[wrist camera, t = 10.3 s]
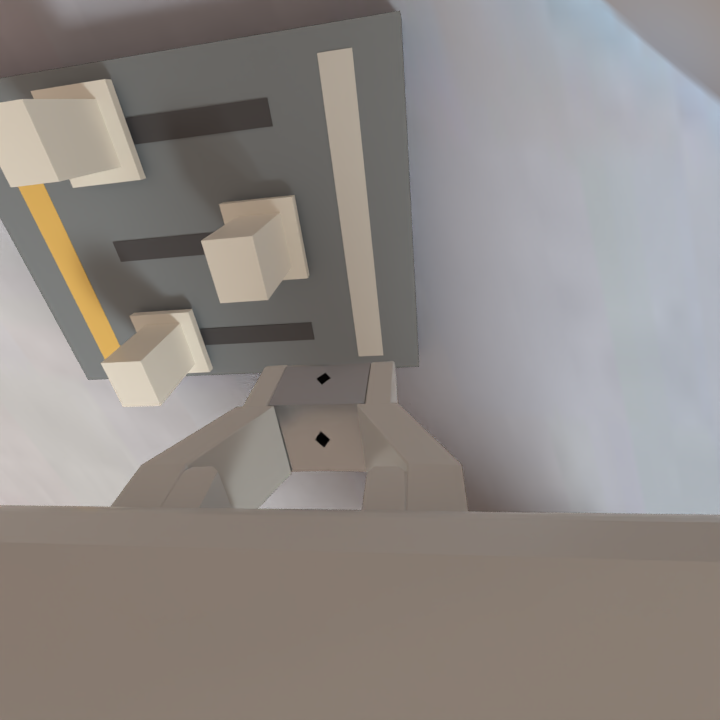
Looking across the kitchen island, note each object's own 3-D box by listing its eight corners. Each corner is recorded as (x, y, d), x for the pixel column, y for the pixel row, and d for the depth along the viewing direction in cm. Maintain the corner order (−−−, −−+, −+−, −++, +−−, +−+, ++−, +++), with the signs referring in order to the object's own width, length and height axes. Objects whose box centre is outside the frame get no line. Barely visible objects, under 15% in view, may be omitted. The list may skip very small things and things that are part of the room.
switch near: (111, 79, 20) (30, 74, 16) (145, 178, 22) (83, 196, 18) (38, 91, 21) (-59, 89, 16) (79, 186, 23) (3, 205, 19)
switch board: (401, 18, 20) (400, 10, 18) (418, 350, 29) (418, 367, 27) (-35, 90, 23) (-71, 89, 22) (105, 365, 32) (87, 380, 31)
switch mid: (294, 194, 22) (266, 217, 18) (309, 275, 24) (287, 312, 20) (222, 202, 23) (178, 226, 18) (243, 280, 25) (209, 317, 21)
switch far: (192, 308, 26) (149, 349, 22) (212, 368, 28) (177, 415, 24) (134, 312, 27) (81, 352, 23) (158, 370, 29) (115, 416, 25)
